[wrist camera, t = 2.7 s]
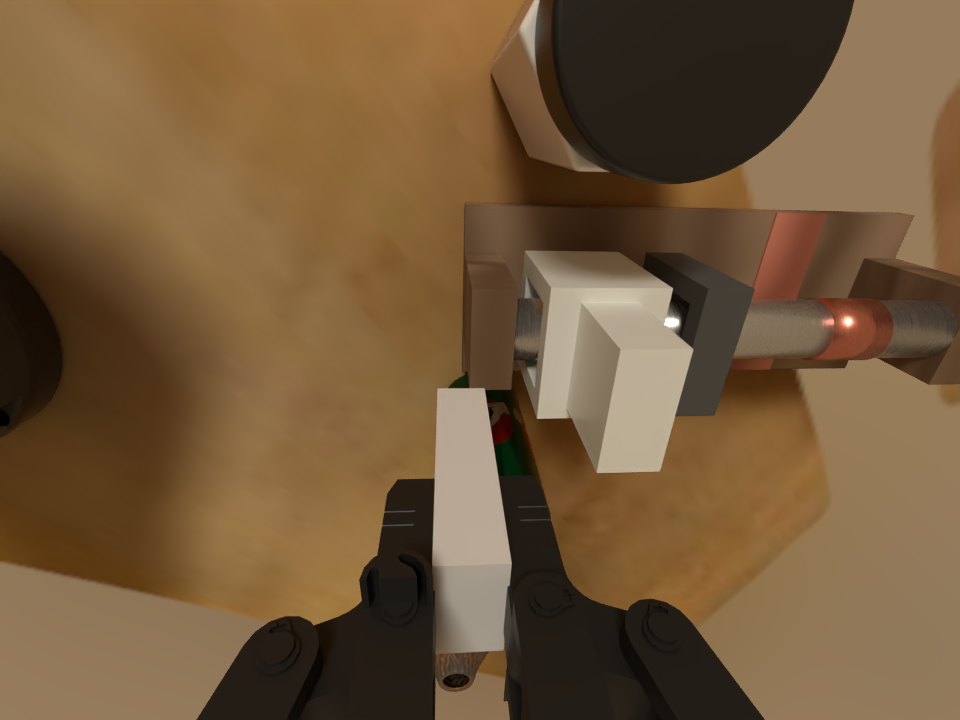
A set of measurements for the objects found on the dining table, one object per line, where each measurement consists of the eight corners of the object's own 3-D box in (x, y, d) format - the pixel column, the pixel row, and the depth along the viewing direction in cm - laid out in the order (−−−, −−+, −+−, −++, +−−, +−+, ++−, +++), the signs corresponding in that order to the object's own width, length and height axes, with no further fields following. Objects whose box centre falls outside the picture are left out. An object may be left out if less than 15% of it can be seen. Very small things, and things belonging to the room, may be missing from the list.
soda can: (426, 405, 30) (419, 553, 20) (475, 353, 29) (496, 483, 18) (481, 442, 32) (502, 596, 21) (530, 395, 31) (579, 536, 20)
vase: (457, 606, 40) (462, 719, 32) (395, 576, 38) (383, 691, 30) (509, 563, 38) (527, 673, 30) (447, 528, 36) (449, 639, 28)
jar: (589, 198, 25) (699, 248, 14) (463, 111, 23) (484, 93, 12) (699, 33, 22) (946, -61, 11) (568, -89, 19) (722, -357, 9)
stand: (462, 364, 29) (468, 433, 22) (464, 202, 25) (473, 228, 18) (833, 361, 31) (939, 423, 25) (898, 212, 27) (1050, 239, 20)
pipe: (485, 345, 24) (491, 374, 21) (487, 287, 22) (494, 309, 19) (900, 343, 26) (956, 370, 23) (926, 290, 24) (991, 311, 21)
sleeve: (516, 357, 26) (559, 486, 16) (524, 250, 23) (582, 331, 14) (600, 357, 26) (689, 482, 17) (618, 251, 24) (737, 331, 14)
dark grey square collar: (624, 357, 26) (673, 416, 21) (645, 252, 24) (708, 288, 18) (657, 356, 27) (714, 415, 21) (682, 252, 24) (755, 289, 18)
